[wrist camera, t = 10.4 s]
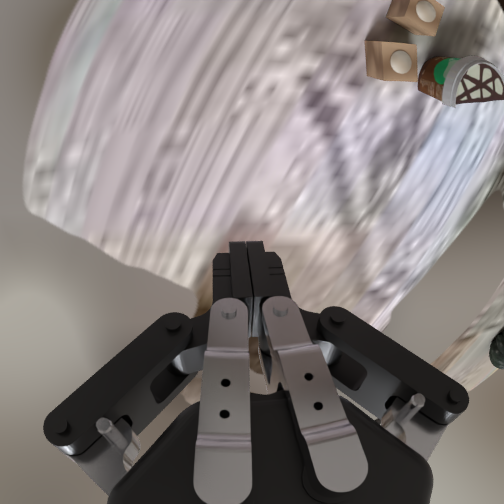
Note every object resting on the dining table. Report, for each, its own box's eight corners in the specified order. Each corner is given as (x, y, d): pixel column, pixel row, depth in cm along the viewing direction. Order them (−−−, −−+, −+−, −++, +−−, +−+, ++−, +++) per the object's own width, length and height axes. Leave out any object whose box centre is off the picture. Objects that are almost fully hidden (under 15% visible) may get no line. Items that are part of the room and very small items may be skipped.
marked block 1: (395, -11, 28) (415, -14, 23) (423, 7, 29) (445, 7, 25) (385, 17, 30) (405, 16, 26) (414, 34, 31) (435, 36, 27)
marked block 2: (364, 40, 32) (382, 41, 28) (396, 42, 32) (417, 44, 28) (366, 75, 35) (384, 80, 31) (398, 76, 35) (418, 82, 31)
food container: (466, 48, 32) (511, 59, 24) (470, 85, 36) (513, 102, 28) (403, 50, 33) (447, 58, 25) (409, 91, 37) (451, 108, 29)
